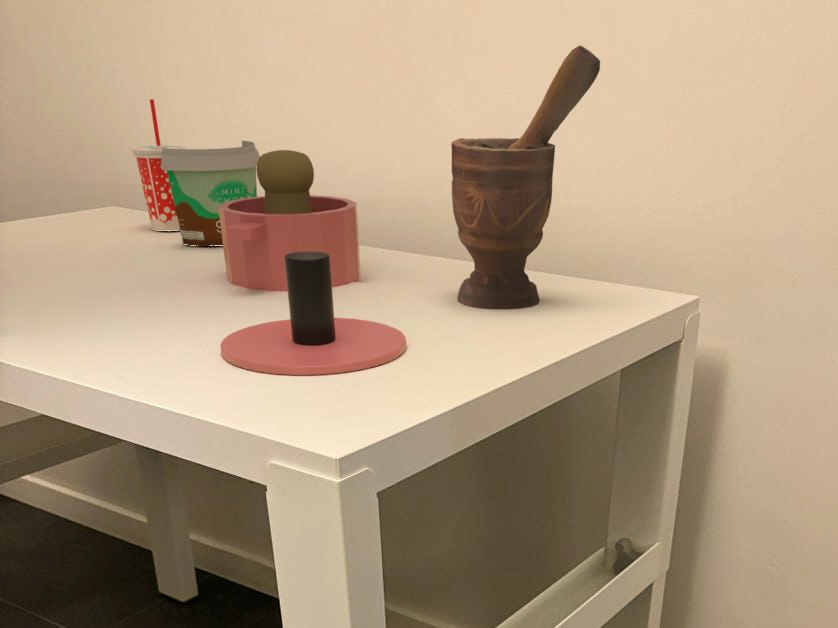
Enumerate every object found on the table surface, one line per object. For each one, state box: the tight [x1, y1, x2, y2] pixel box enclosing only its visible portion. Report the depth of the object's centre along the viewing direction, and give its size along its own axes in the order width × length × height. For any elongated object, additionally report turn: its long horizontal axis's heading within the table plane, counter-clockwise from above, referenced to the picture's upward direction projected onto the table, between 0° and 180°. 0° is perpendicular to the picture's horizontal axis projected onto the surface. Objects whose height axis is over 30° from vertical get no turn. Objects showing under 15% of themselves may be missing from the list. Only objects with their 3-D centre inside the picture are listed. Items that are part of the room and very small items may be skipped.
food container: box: [161, 140, 261, 246], centre depth 111 cm, size 12×6×10 cm, turn 143°
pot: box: [218, 194, 361, 292], centre depth 94 cm, size 13×18×7 cm
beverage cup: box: [132, 98, 186, 230], centre depth 117 cm, size 6×6×14 cm
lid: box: [220, 251, 407, 376], centre depth 72 cm, size 14×14×7 cm
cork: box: [256, 149, 315, 214], centre depth 93 cm, size 6×6×11 cm
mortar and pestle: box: [451, 44, 601, 311], centre depth 83 cm, size 12×9×20 cm
